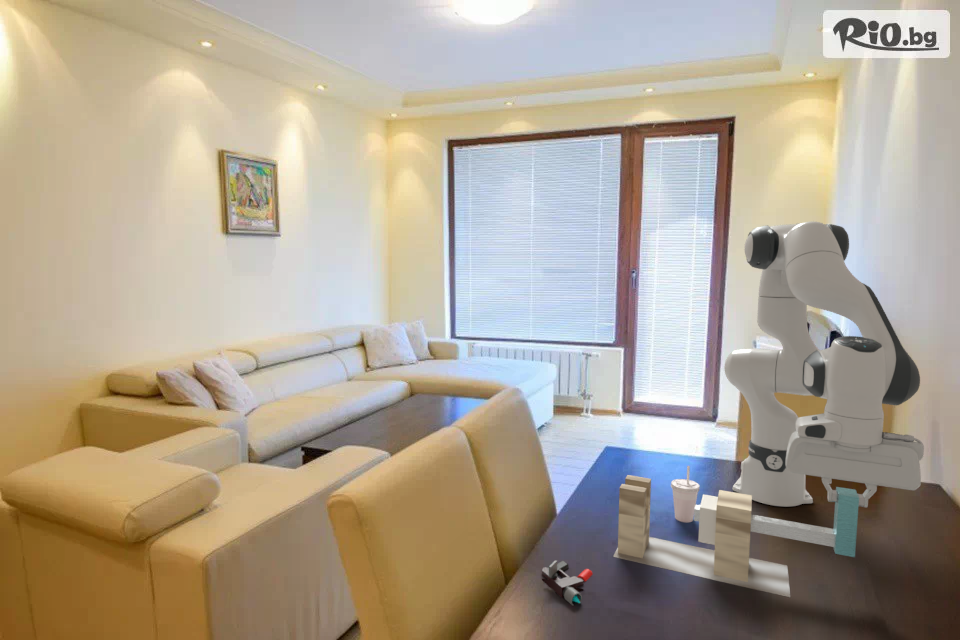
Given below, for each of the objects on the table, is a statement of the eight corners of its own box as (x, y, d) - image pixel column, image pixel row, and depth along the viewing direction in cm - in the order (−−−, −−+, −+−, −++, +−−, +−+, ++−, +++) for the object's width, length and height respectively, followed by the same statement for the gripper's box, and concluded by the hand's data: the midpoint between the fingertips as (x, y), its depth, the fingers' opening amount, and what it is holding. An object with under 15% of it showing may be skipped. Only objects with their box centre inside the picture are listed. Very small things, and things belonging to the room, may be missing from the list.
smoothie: (700, 530, 129) (703, 471, 128) (671, 528, 131) (673, 469, 129) (695, 518, 136) (697, 462, 134) (667, 516, 137) (669, 460, 136)
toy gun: (572, 612, 100) (573, 586, 99) (535, 579, 110) (535, 555, 110) (614, 597, 104) (615, 572, 104) (574, 566, 115) (575, 544, 114)
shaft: (695, 518, 115) (697, 466, 114) (851, 547, 104) (855, 489, 103) (693, 526, 112) (695, 472, 111) (854, 557, 100) (859, 497, 99)
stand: (625, 536, 126) (627, 471, 125) (787, 571, 112) (791, 498, 111) (612, 562, 116) (614, 490, 114) (790, 603, 102) (794, 522, 100)
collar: (701, 526, 117) (702, 494, 116) (717, 529, 115) (718, 497, 115) (698, 541, 110) (699, 507, 110) (714, 545, 109) (716, 510, 108)
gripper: (920, 431, 98) (914, 507, 100) (787, 417, 108) (783, 487, 109) (929, 442, 93) (923, 522, 94) (788, 425, 102) (784, 499, 103)
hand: (847, 503), depth 102 cm, fingers open, 3 cm apart
